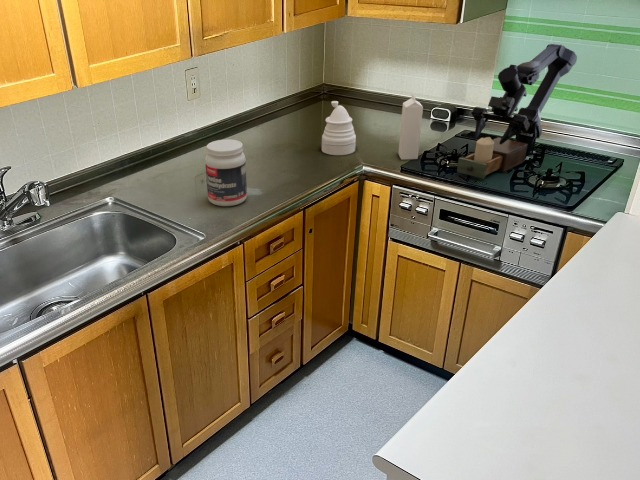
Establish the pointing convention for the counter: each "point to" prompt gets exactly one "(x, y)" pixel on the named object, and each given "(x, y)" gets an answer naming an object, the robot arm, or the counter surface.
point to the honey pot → (338, 132)
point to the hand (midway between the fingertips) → (487, 140)
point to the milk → (410, 129)
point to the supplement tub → (226, 172)
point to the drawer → (479, 165)
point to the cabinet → (510, 153)
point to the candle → (484, 150)
